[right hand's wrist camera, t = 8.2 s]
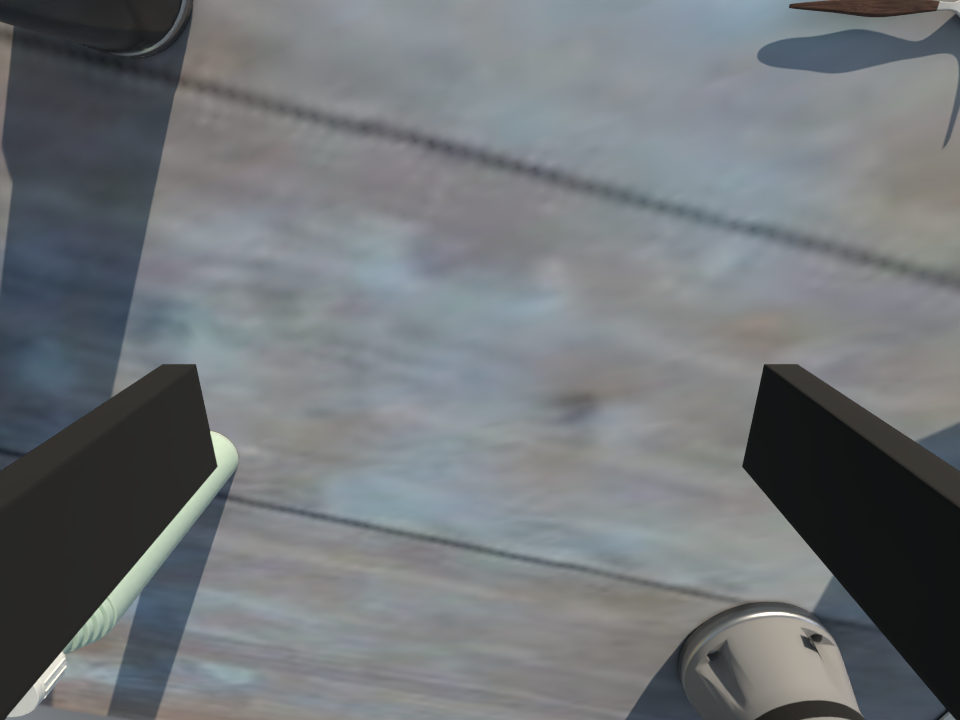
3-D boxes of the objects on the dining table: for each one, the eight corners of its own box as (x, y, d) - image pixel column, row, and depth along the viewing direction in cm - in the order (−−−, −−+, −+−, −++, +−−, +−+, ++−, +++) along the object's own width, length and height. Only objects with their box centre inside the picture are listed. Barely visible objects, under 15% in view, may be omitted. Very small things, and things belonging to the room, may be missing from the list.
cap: (79, 649, 27) (50, 684, 25) (53, 692, 28) (24, 728, 26) (3, 616, 26) (-32, 650, 24) (-21, 662, 27) (-56, 697, 25)
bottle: (248, 449, 44) (72, 674, 25) (223, 489, 46) (37, 730, 27) (195, 419, 43) (-33, 631, 24) (170, 461, 45) (-62, 691, 26)
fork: (789, -18, 32) (808, -28, 30) (1048, -17, 32) (1083, -27, 30) (780, 32, 33) (798, 24, 31) (1031, 32, 33) (1064, 25, 31)
